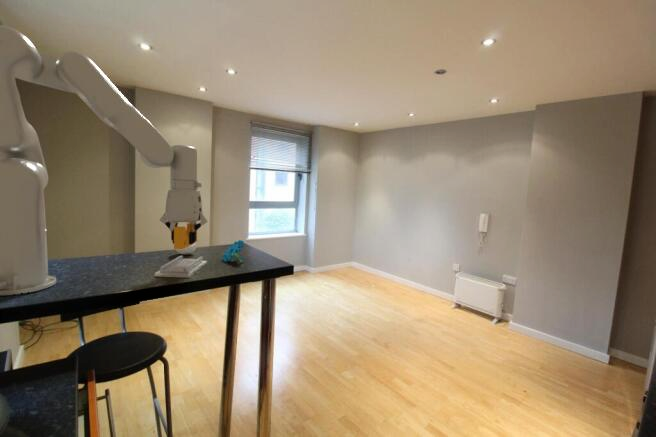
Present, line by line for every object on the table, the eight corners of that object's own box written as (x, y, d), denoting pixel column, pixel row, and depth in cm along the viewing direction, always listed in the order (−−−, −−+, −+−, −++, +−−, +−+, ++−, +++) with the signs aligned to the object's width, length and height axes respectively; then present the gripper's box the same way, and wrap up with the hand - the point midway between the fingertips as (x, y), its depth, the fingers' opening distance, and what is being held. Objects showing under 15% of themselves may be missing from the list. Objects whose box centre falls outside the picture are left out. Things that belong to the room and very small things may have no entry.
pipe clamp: (183, 241, 102) (183, 222, 102) (197, 241, 103) (197, 222, 102) (167, 248, 91) (167, 227, 90) (182, 249, 91) (183, 227, 90)
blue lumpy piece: (218, 253, 115) (239, 235, 117) (229, 263, 118) (249, 245, 119) (222, 264, 106) (244, 245, 107) (234, 275, 108) (255, 255, 110)
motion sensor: (184, 257, 112) (185, 237, 111) (168, 255, 115) (169, 234, 114) (200, 253, 120) (200, 234, 119) (185, 251, 122) (185, 232, 121)
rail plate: (189, 277, 90) (189, 269, 90) (154, 276, 90) (154, 267, 89) (206, 263, 106) (207, 256, 106) (177, 262, 105) (177, 255, 105)
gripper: (215, 187, 99) (214, 242, 101) (161, 184, 98) (162, 239, 100) (207, 187, 92) (207, 246, 94) (149, 184, 91) (150, 244, 93)
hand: (183, 242), depth 97 cm, fingers closed on pipe clamp, 4 cm apart
